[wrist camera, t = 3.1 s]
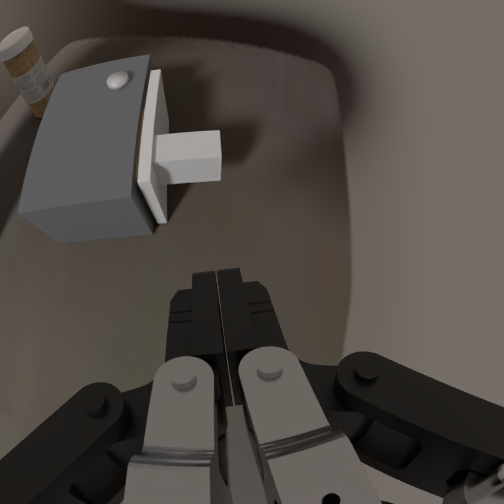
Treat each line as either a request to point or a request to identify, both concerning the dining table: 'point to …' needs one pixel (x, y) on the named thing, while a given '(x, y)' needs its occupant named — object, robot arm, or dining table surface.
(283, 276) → the dining table surface
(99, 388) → the robot arm
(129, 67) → the box
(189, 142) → the side cover
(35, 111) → the sprinkles bottle
